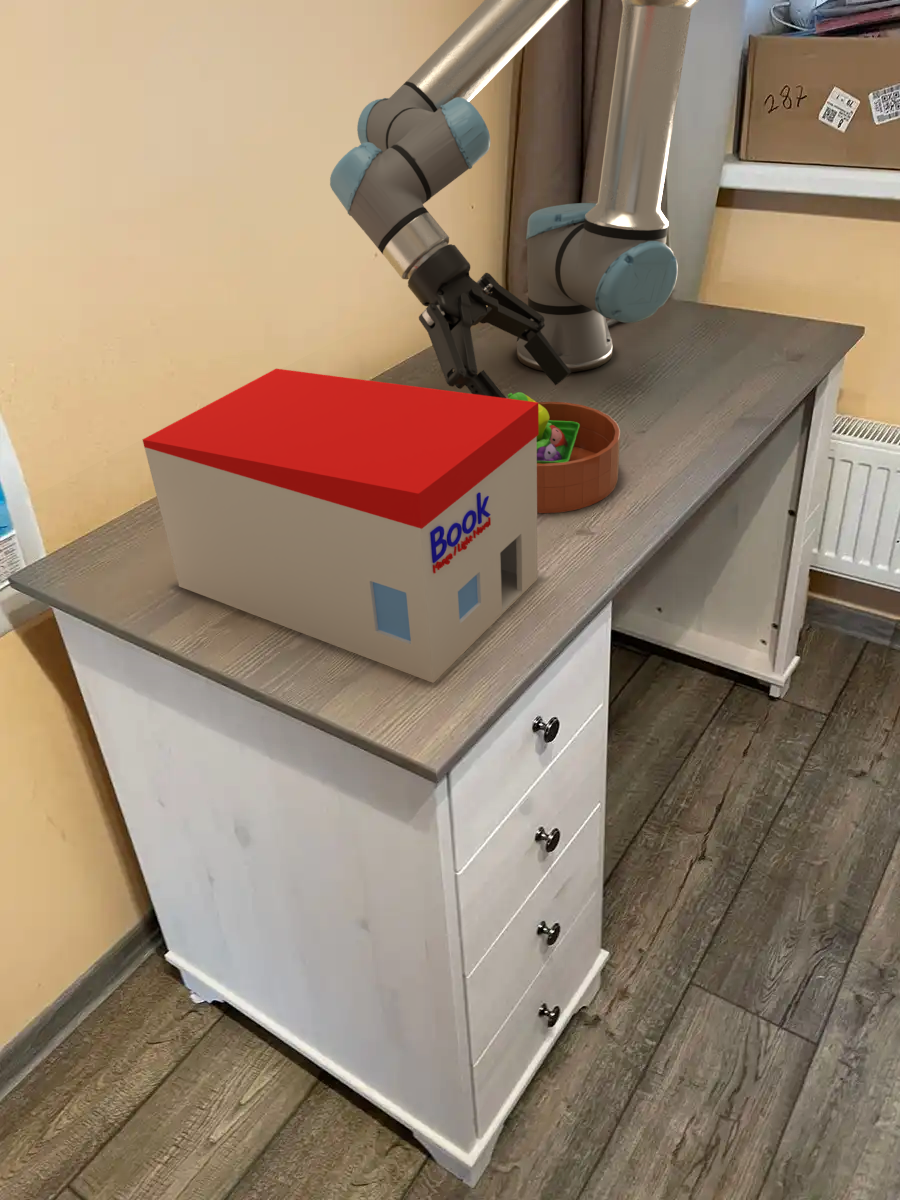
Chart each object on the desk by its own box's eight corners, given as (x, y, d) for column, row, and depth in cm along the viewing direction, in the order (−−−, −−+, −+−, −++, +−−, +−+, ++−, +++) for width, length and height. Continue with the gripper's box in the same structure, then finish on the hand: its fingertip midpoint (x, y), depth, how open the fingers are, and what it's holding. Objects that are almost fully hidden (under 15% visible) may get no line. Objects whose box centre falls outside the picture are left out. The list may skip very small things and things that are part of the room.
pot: (560, 434, 141) (560, 390, 138) (647, 484, 128) (650, 437, 125) (449, 471, 134) (446, 426, 130) (529, 528, 121) (528, 480, 117)
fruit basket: (568, 499, 125) (569, 414, 119) (497, 494, 127) (494, 410, 121) (579, 457, 134) (581, 376, 128) (513, 453, 136) (511, 373, 130)
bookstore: (436, 684, 98) (421, 494, 86) (179, 586, 115) (136, 416, 103) (541, 579, 112) (540, 402, 100) (298, 505, 129) (272, 346, 117)
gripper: (465, 253, 136) (565, 378, 137) (351, 313, 119) (466, 455, 120) (498, 216, 130) (602, 347, 132) (384, 273, 113) (504, 422, 115)
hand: (537, 399), depth 126 cm, fingers open, 13 cm apart
